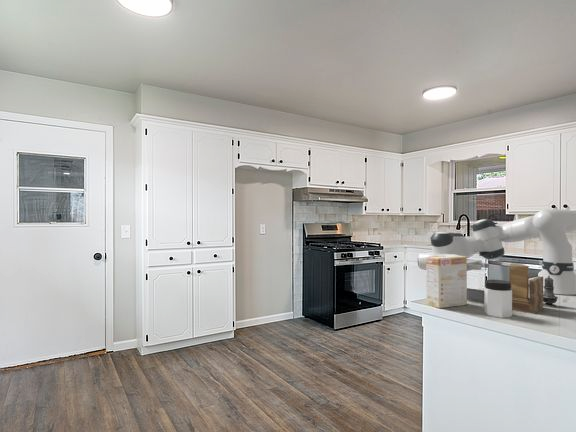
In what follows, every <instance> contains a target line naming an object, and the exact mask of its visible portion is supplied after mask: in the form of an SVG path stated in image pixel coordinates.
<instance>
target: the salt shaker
mask: <svg viewBox="0 0 576 432" xmlns="http://www.w3.org/2000/svg"><path fill="white" fill-rule="evenodd" d="M543 287H544V292H543V307H546V308H558V305H556V303H557V301H558V299H559V297H558V296H556V295H555V294H554V287H553V279H552V278H550V276H548V278H545V286H543Z"/></svg>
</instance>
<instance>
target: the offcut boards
mask: <svg viewBox="0 0 576 432" xmlns="http://www.w3.org/2000/svg"><path fill="white" fill-rule="evenodd" d="M512 302H519V303H525V304H529V302H528V300H526V299H519V298H512Z"/></svg>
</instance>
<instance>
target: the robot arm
mask: <svg viewBox="0 0 576 432" xmlns="http://www.w3.org/2000/svg"><path fill="white" fill-rule="evenodd" d="M471 227H472V229H471V230H472V231H473V234H474V236H470V235H469V236H465V235H464V234H463V233H460V232H447V231H437V232H435V233H433V234H432V235H431V236H430V239H429V240H430V245H431V252H420V253H418V256H417V266H418V268H419V269H421V270H423V271H426V269H427V265H426V257H429V256H446V255H459V256H466V257H467V272H468V271H469V272H470V271H481V270H482V268H484V269H489V268H490V267H491V264H490V263H485V262H482V259H481V260H480V259H474V258H473V259H471V257H472V256H474V255H476V254H478V256H479V257H482V258H484V259H486V260H497V259H500V258H501V257H503V256H504V255H505V247H504V246H503V243H515V242H516V243H517V242H522V241H527V240H531V239H537V238H540V239H541V243H542V251H543V252H542V259H543V260H542V262H541V268H542V269H541V271H539V272H538V276H537V277H539V276H540V277H543V286H545V278H548V276H550V278H552V279H553V287H554V295H555V294H556V295H567V296H568V295H569V296H571V295H572V296H574V295H576V274H575V272H574V270H575V269H574V268H575V266H574V265H575V264H574V262H573V246H572V244H571V242H569V239H568V237H567V233H572V232H575V231H576V211H575V210H571V209H559V208H557V209H556V208H555V209H554V208H553V209H551V208H548V209H544V210H540V211H538V212H536V213H535V214H534V215H528V216H526V217H522V218H519V219H514V220H512V221H508V222H505V223H503V224H502V225H499V226H498V222H494V221H493V220H492V219H485V218H484V219H483V218H482V219H479V220H476V221H475V222H473V224H472V225H471ZM502 242H503V243H502ZM543 293H544V287H543Z"/></svg>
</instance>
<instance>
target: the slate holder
mask: <svg viewBox="0 0 576 432" xmlns="http://www.w3.org/2000/svg"><path fill="white" fill-rule="evenodd" d="M467 300H469V301H475V302H480V303H484V289H476V288H468V287H467Z"/></svg>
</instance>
